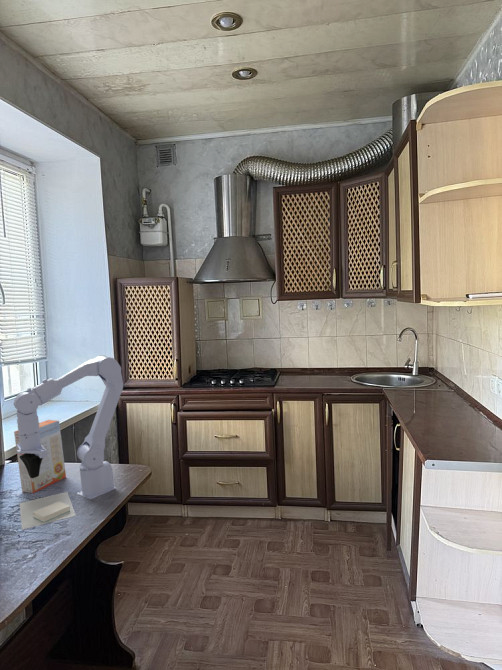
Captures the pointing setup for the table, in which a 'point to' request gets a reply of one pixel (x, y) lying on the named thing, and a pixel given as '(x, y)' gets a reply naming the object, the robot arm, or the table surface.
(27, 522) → the mat
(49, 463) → the cracker box
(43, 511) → the tile
